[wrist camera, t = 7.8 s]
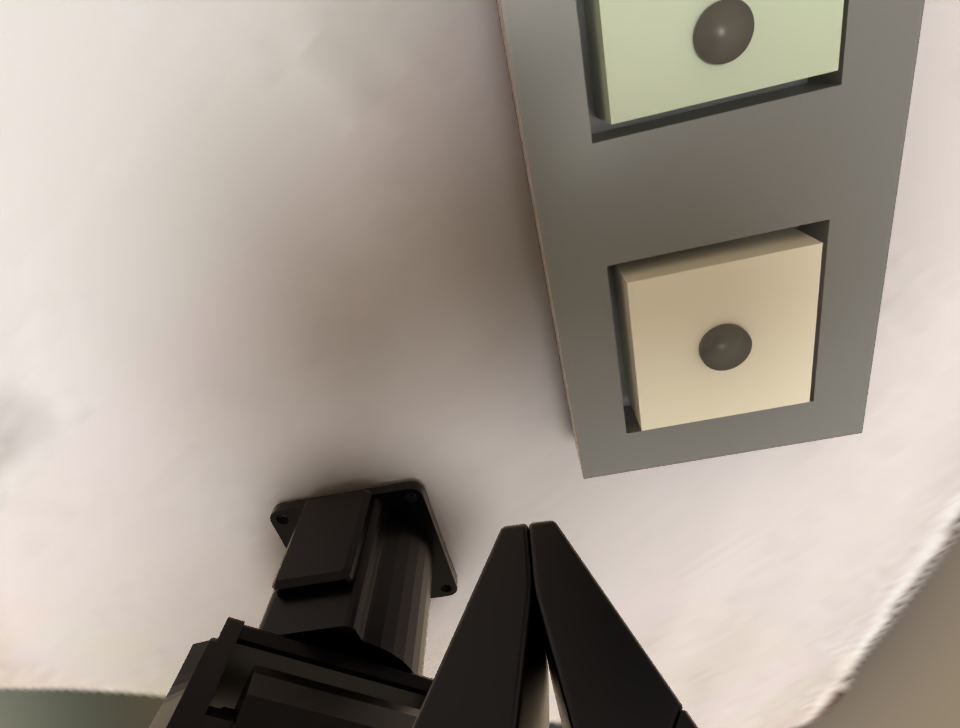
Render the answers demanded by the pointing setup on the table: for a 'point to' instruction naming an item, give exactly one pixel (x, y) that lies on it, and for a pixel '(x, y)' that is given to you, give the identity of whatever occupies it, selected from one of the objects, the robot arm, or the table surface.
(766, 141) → the panel
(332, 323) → the table surface
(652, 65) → the sage tile two
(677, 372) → the cream tile one
